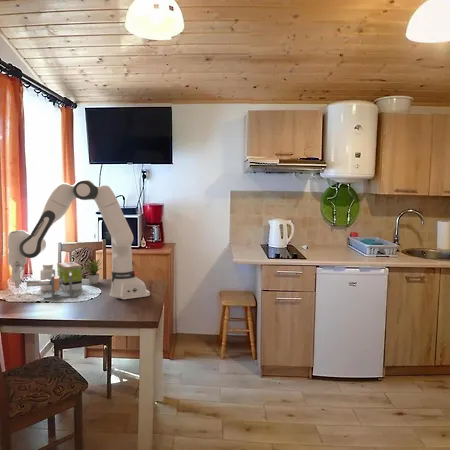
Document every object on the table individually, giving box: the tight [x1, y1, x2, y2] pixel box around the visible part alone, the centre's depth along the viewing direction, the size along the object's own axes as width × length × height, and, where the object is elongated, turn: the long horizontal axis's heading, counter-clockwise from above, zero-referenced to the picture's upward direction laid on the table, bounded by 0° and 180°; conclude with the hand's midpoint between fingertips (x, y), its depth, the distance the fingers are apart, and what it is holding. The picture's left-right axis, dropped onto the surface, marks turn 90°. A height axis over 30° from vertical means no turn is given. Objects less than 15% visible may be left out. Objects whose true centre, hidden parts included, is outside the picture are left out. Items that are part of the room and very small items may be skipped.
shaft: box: [26, 279, 63, 288], centre depth 219 cm, size 18×3×3 cm, turn 111°
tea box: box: [56, 261, 83, 292], centre depth 240 cm, size 15×10×15 cm
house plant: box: [82, 258, 104, 285], centre depth 252 cm, size 14×14×16 cm
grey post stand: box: [43, 273, 78, 300], centre depth 222 cm, size 17×10×12 cm, turn 111°
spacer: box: [54, 275, 61, 292], centre depth 221 cm, size 3×7×7 cm, turn 21°
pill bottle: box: [39, 263, 56, 291], centre depth 236 cm, size 8×8×15 cm
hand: (18, 286), depth 214 cm, fingers open, 7 cm apart
